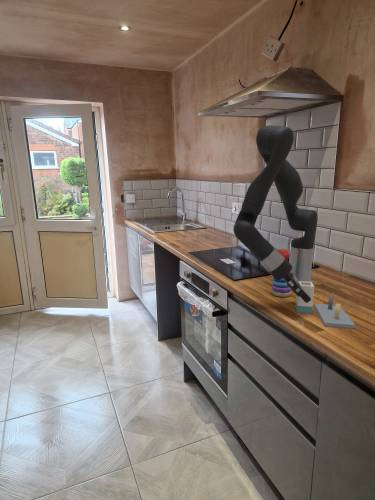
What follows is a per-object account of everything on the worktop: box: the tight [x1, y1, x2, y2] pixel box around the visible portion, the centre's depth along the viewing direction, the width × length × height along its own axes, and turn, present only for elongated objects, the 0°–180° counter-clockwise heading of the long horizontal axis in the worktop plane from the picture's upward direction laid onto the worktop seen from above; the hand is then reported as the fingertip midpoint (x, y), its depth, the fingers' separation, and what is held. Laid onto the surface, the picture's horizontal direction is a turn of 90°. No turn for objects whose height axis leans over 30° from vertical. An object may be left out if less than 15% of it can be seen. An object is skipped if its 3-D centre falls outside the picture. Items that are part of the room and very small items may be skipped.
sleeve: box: [294, 281, 315, 314], centre depth 115 cm, size 5×5×10 cm
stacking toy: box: [270, 248, 292, 298], centre depth 129 cm, size 8×8×19 cm
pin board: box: [313, 294, 356, 329], centre depth 110 cm, size 16×9×6 cm, turn 171°
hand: (306, 296), depth 115 cm, fingers open, 8 cm apart
